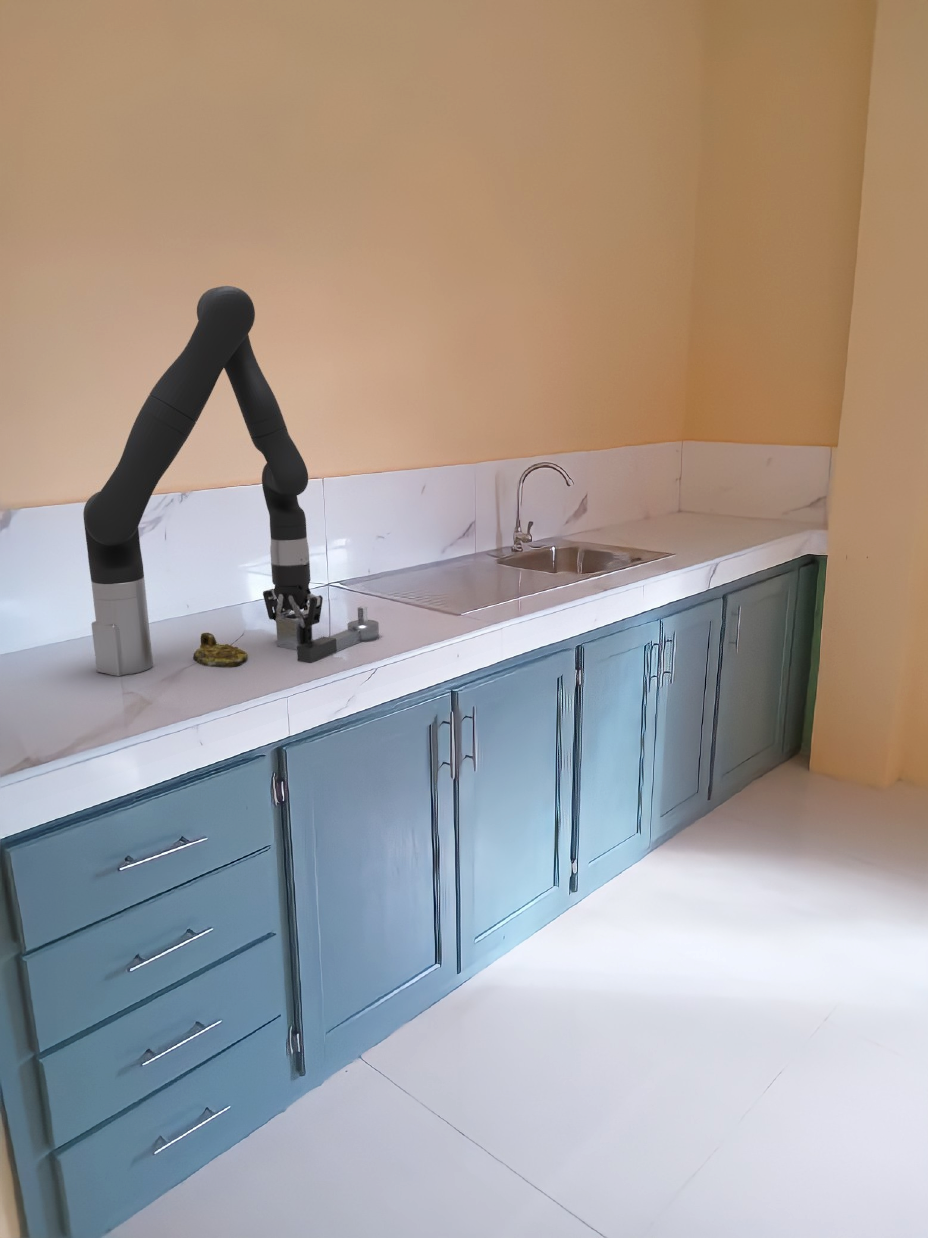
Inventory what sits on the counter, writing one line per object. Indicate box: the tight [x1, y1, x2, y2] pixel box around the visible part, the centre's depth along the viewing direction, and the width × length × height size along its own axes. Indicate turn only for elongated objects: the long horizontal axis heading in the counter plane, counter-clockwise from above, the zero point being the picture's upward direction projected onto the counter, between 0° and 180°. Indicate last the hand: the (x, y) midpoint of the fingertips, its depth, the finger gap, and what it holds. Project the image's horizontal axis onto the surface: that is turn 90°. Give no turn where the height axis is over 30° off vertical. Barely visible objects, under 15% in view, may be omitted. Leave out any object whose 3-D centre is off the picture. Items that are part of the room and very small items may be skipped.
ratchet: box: [296, 605, 380, 664], centre depth 188 cm, size 22×6×6 cm, turn 149°
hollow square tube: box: [275, 611, 314, 651], centre depth 190 cm, size 5×5×6 cm
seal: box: [192, 632, 249, 668], centre depth 183 cm, size 9×5×15 cm
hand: (295, 642), depth 191 cm, fingers closed on hollow square tube, 5 cm apart
